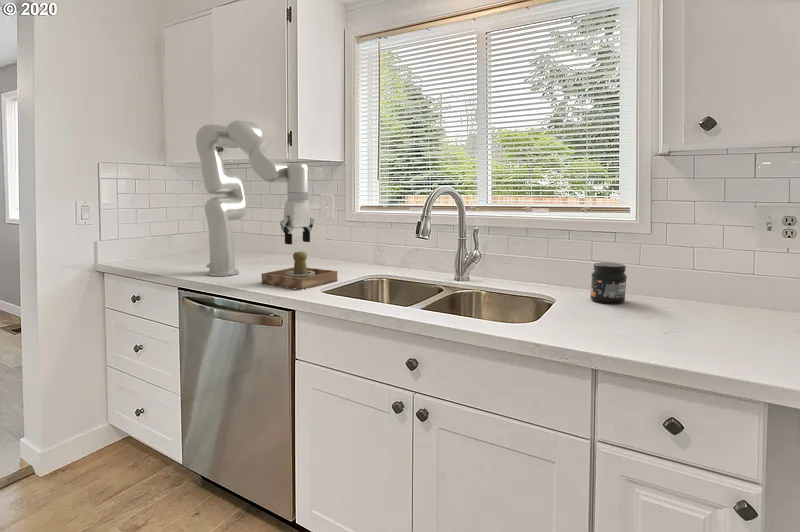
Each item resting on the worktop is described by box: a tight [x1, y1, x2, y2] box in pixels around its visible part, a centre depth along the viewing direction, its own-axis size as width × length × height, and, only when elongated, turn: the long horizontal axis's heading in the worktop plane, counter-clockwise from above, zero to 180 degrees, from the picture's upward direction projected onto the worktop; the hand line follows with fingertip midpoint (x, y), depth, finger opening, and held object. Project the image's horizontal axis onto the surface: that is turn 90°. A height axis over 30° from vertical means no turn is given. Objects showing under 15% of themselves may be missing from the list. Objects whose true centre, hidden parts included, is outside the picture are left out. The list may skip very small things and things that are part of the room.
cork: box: [292, 251, 308, 275], centre depth 197 cm, size 6×6×11 cm
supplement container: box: [590, 262, 628, 305], centre depth 167 cm, size 10×10×12 cm
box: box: [261, 267, 338, 290], centre depth 198 cm, size 20×20×4 cm
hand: (297, 242), depth 196 cm, fingers open, 9 cm apart
